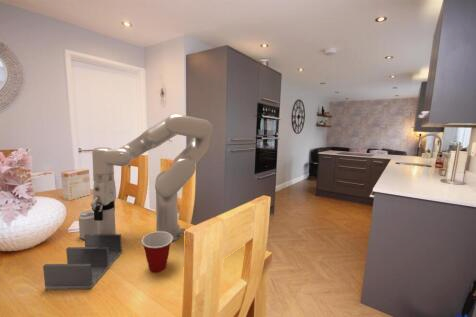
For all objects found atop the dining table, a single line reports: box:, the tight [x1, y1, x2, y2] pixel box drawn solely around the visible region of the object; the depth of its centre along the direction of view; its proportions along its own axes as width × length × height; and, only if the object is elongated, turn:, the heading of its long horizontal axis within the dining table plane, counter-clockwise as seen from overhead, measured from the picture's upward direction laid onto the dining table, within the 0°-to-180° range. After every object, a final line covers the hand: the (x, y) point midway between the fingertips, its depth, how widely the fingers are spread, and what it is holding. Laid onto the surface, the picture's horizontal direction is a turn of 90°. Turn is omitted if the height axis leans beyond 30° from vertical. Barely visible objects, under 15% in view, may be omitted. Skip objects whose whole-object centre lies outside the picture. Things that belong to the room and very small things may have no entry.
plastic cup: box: [141, 231, 173, 274], centre depth 81 cm, size 11×11×12 cm
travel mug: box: [97, 201, 117, 234], centre depth 96 cm, size 6×7×20 cm
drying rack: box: [42, 233, 123, 290], centre depth 80 cm, size 14×21×8 cm, turn 3°
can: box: [77, 209, 99, 240], centre depth 103 cm, size 8×8×12 cm
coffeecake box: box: [60, 168, 92, 202], centre depth 158 cm, size 15×7×20 cm, turn 157°
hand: (105, 215), depth 96 cm, fingers open, 9 cm apart
